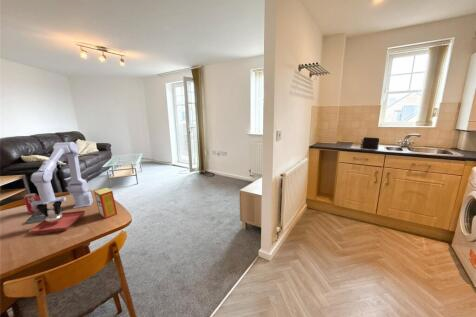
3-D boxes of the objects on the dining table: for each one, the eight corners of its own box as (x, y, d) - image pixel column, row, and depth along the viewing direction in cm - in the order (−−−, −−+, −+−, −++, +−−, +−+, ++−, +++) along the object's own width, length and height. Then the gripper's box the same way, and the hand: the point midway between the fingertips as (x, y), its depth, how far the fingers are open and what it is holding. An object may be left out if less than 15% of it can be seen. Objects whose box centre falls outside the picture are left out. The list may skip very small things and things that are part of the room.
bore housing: (62, 209, 128) (61, 205, 127) (53, 219, 117) (52, 214, 117) (39, 213, 124) (37, 209, 123) (27, 223, 113) (26, 219, 112)
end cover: (64, 214, 116) (61, 204, 114) (60, 220, 110) (57, 209, 108) (49, 218, 113) (45, 207, 111) (44, 224, 106) (40, 212, 105)
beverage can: (44, 209, 130) (39, 192, 127) (34, 214, 124) (28, 197, 121) (36, 209, 130) (31, 192, 127) (25, 214, 124) (20, 196, 121)
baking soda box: (99, 214, 121) (94, 190, 117) (111, 209, 126) (106, 187, 122) (105, 219, 115) (99, 194, 111) (117, 214, 120) (112, 190, 116)
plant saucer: (29, 236, 102) (27, 231, 101) (55, 218, 119) (54, 213, 118) (67, 232, 104) (66, 227, 103) (87, 214, 121) (86, 210, 120)
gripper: (24, 198, 100) (32, 221, 104) (59, 193, 105) (65, 215, 109) (32, 193, 107) (39, 215, 110) (65, 188, 112) (70, 209, 115)
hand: (52, 214), depth 110 cm, fingers closed on end cover, 4 cm apart
